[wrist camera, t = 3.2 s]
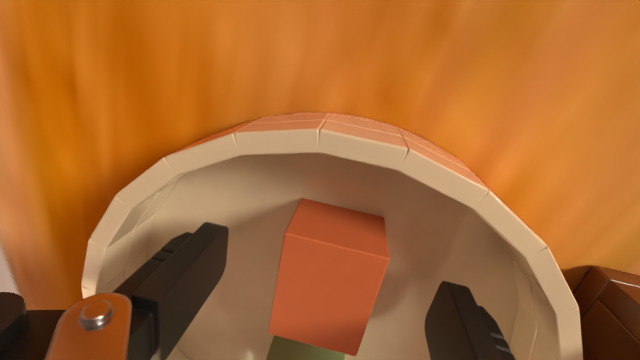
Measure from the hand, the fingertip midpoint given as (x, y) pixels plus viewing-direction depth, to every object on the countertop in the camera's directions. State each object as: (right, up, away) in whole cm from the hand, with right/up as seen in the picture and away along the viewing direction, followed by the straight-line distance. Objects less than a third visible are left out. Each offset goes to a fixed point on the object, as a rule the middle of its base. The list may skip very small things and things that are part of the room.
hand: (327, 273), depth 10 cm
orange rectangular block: (0, 0, +1) cm, 1 cm away
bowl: (0, -2, +2) cm, 3 cm away
